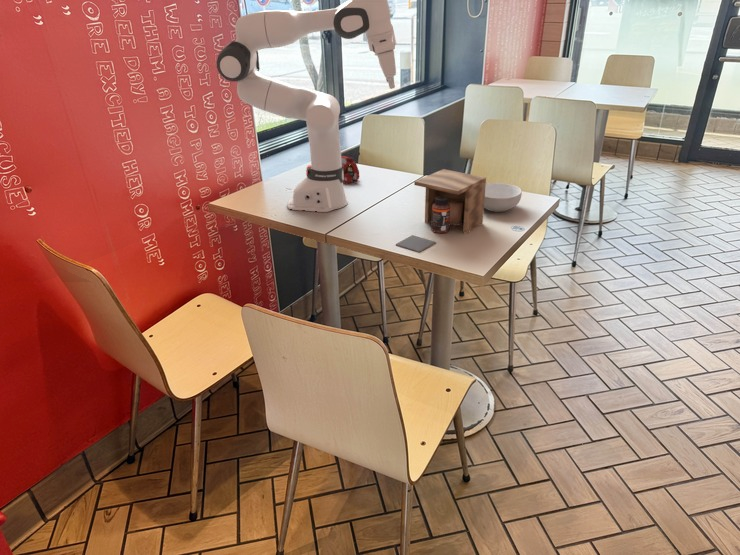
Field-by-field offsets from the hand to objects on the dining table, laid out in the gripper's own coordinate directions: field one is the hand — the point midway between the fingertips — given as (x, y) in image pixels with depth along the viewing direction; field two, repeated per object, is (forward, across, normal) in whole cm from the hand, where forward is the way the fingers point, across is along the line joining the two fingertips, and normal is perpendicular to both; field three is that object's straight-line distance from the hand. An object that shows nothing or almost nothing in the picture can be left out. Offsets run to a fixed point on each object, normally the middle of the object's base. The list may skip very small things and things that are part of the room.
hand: (390, 84), depth 182 cm
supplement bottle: (+43, +29, +4) cm, 52 cm away
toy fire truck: (+41, -30, -25) cm, 56 cm away
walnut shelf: (+44, +26, +8) cm, 51 cm away
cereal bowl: (+50, +11, +28) cm, 58 cm away
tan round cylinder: (+45, +23, +10) cm, 51 cm away
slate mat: (+40, +39, -5) cm, 56 cm away
